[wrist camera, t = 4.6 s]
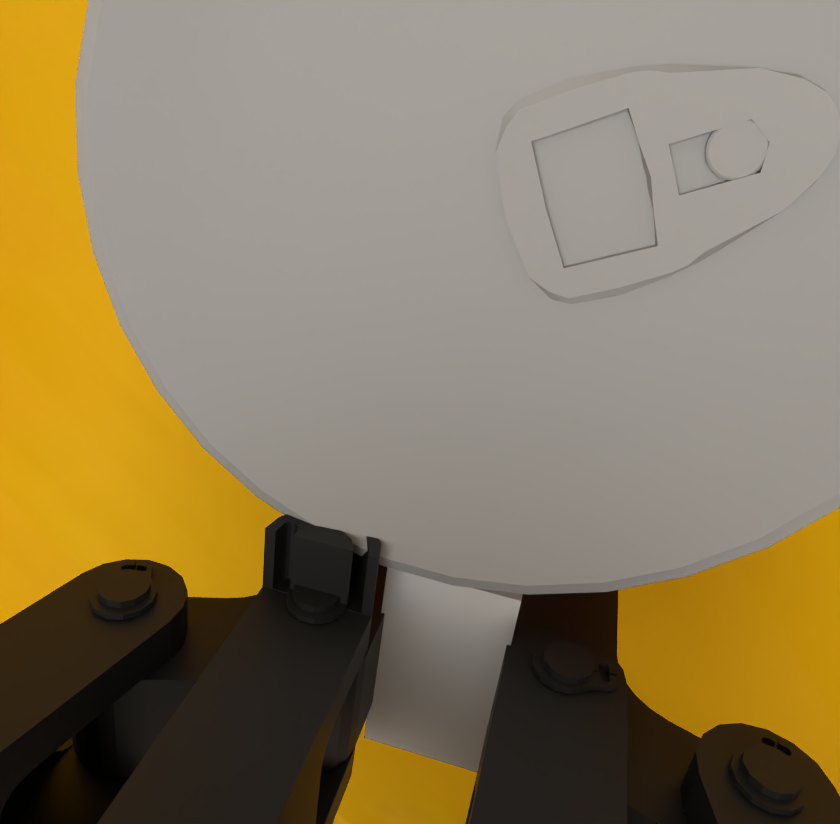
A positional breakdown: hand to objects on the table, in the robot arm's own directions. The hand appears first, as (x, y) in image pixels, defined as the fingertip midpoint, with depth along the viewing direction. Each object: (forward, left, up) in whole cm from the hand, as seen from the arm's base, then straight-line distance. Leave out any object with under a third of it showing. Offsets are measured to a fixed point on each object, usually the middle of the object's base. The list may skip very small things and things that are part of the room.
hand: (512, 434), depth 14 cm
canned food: (+5, 0, -4) cm, 7 cm away
